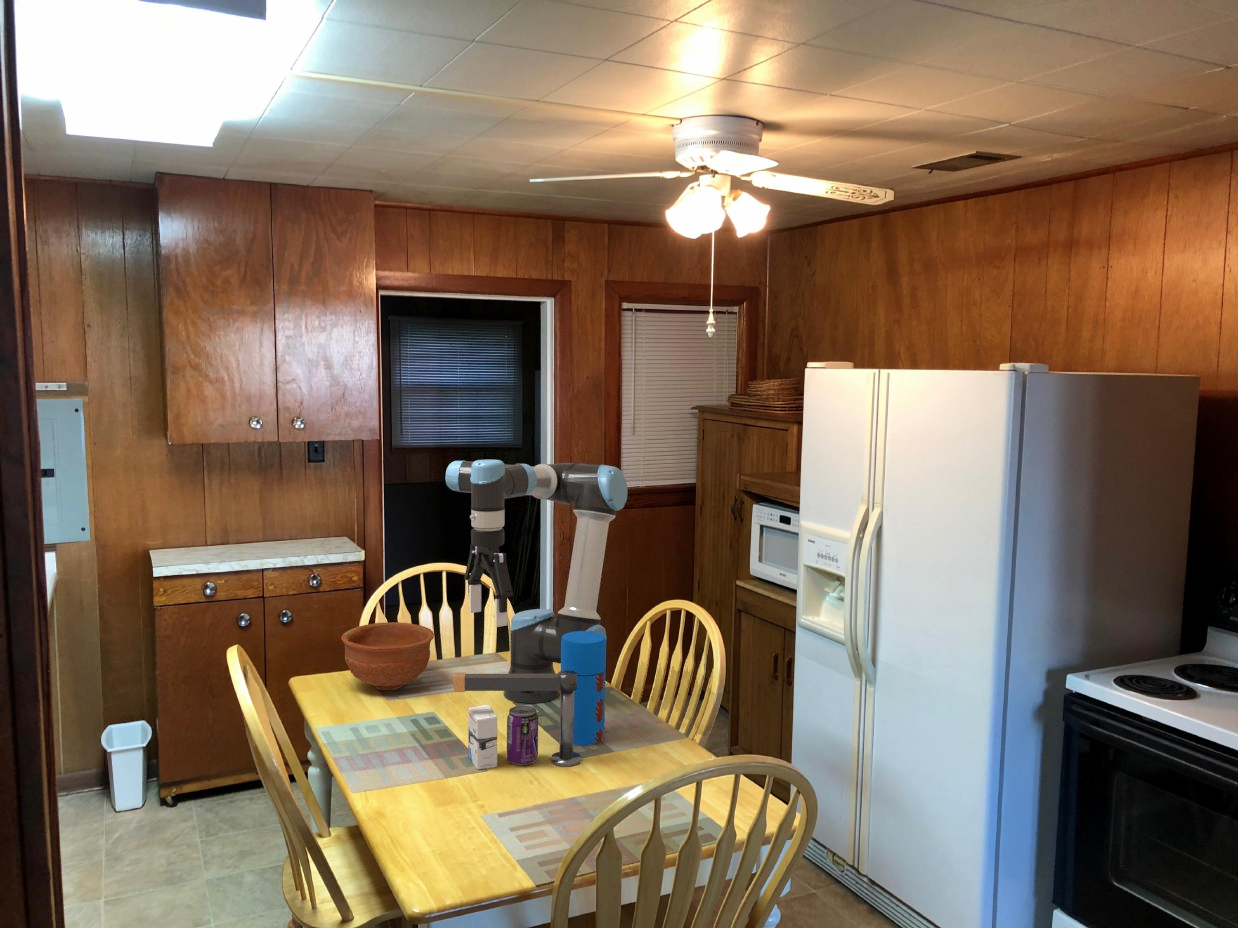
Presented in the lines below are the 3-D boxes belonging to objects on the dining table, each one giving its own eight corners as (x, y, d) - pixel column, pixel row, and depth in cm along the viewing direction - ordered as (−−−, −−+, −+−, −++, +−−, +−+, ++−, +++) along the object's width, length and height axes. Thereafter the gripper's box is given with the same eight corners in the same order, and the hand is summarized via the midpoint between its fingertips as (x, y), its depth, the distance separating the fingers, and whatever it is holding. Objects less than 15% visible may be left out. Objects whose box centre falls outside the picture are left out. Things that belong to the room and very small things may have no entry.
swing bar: (576, 685, 221) (577, 670, 220) (577, 692, 216) (577, 676, 216) (455, 686, 219) (455, 670, 218) (453, 692, 214) (453, 676, 214)
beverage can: (532, 768, 215) (533, 716, 214) (502, 765, 216) (502, 713, 215) (541, 756, 222) (542, 706, 221) (512, 753, 223) (512, 703, 222)
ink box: (467, 755, 221) (467, 706, 220) (488, 752, 223) (488, 703, 222) (476, 770, 214) (476, 718, 212) (498, 767, 216) (498, 716, 214)
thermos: (550, 736, 234) (552, 636, 231) (581, 725, 242) (583, 628, 239) (582, 749, 226) (583, 646, 224) (613, 737, 234) (615, 637, 232)
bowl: (363, 669, 282) (363, 619, 280) (445, 674, 278) (446, 624, 277) (326, 697, 257) (326, 643, 256) (416, 704, 254) (416, 649, 252)
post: (567, 751, 225) (568, 683, 223) (587, 760, 220) (589, 690, 218) (544, 759, 220) (545, 689, 218) (564, 769, 215) (565, 697, 213)
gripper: (450, 520, 227) (450, 608, 230) (497, 538, 207) (497, 634, 209) (479, 518, 231) (479, 604, 234) (528, 535, 211) (527, 629, 213)
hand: (487, 618), depth 221 cm, fingers open, 13 cm apart
